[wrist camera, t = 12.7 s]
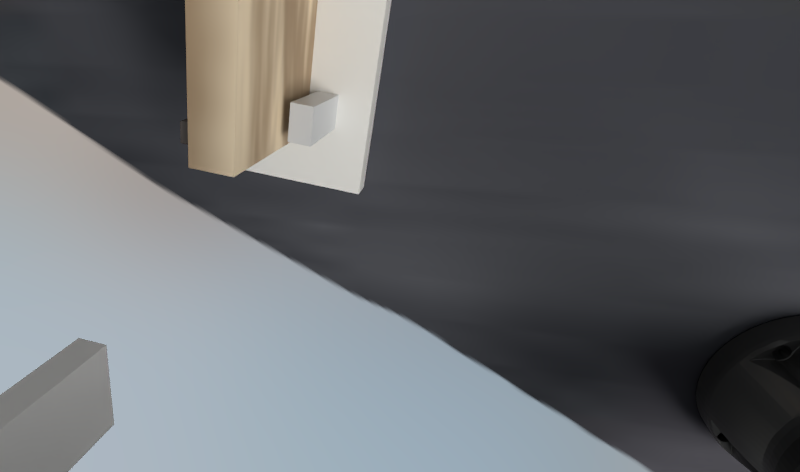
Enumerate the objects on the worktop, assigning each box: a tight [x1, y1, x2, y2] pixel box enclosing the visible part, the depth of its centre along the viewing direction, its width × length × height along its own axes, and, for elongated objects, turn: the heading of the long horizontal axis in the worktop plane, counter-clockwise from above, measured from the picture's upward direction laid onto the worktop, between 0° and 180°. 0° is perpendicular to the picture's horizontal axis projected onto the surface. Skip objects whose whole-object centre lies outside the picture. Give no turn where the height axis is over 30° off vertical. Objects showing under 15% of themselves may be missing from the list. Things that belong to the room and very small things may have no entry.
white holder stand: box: [246, 0, 392, 194], centre depth 28 cm, size 12×22×14 cm, turn 170°
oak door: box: [180, 0, 318, 177], centre depth 27 cm, size 4×14×12 cm, turn 170°
